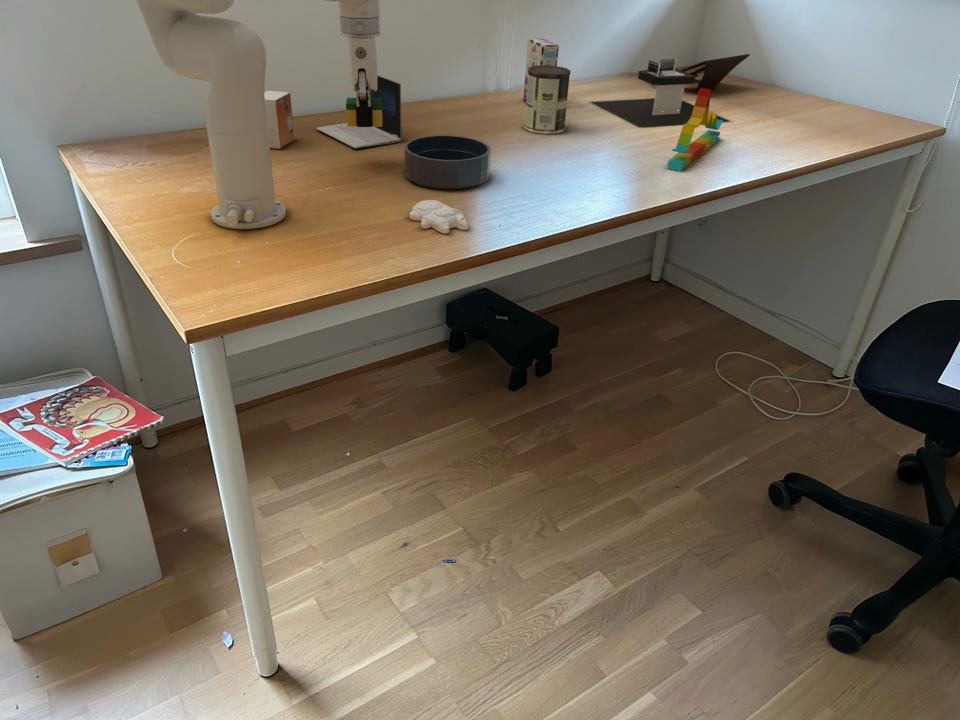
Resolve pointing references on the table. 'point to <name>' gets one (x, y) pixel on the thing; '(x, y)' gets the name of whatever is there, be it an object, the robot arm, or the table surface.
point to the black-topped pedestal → (657, 98)
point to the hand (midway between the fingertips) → (364, 121)
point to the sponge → (352, 104)
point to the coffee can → (546, 99)
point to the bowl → (447, 161)
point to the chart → (697, 118)
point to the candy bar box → (540, 56)
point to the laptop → (372, 135)
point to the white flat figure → (438, 216)
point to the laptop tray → (714, 70)
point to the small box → (279, 118)
